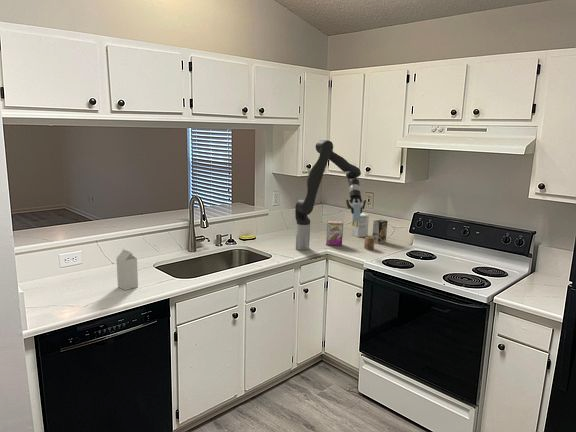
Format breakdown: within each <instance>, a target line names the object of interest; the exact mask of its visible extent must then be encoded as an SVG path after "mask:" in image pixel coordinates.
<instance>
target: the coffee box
mask: <svg viewBox="0 0 576 432" xmlns="http://www.w3.org/2000/svg"><path fill="white" fill-rule="evenodd" d="M372 224H373V225H372V234H371V235H372V236H371V237H373V238H375V240H374V244H378V245H380V244H385V243H386V242H387V236H388V235H387V233H388V220H385V219H378V220H373V223H372Z"/></svg>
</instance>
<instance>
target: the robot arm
mask: <svg viewBox="0 0 576 432" xmlns="http://www.w3.org/2000/svg"><path fill="white" fill-rule="evenodd" d="M315 150H316V152H317V154H319V156H318V159H317V160H316V161H315V163H314V164H313V166H312V167H311V168H310V170H309V172H308V175H307V178H306V187H307V188H306V189H307V191H306V195H305V199H298V200H297V202H296V204H295V207H294V208H295V209H294V211H295V212H294V215H295V221H296V224H295V225H296V227H295V229H296V230H295V250H299V251H307V250H309V249H310V241H311V240H310V239H311V238H310V236H311V219H310V218H309V216H308V215H310V214H311V213H312V212H313V210H314V207H315V202H316V198H317V194H318V191H319V188H320V185H321V183H322V179H323V176H324V172H325V171H326V167H327V164H328V162H329V161H331V162H332V163H333V164H334V165H335V166H336V167H338V168H339V169H340V170H341V171H342V172H343V173H345V177H346V179H347V182H348V185H349V187H348V188H349V189H348V190H349V192H348V194H349V199H346V200H345V203H346V207H347V209H349V210H350V213H351V214H353V213H354V209H353V203H361V204H363V205H361V211H360V214H361V213H363V210H364V209H365V207H366V204H367V203H366V202H367V200H366V199H364V200H363V199H362V191H361V186H360V180H359V179H358V178H359V177H360V176H361V175H362V172H361V170H360V168H359V167H357V166H356V165H354V164H351V163H350V162H349V161H348V160H347V159H346V158H344V157H343V156H342V155H340V154H337V153H336V152H334V151H333V150H334V144H333V142H332V141H331V140H327V139H326V140H323V139H321V140H318V141H317V142H316V143H315Z"/></svg>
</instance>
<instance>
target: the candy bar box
mask: <svg viewBox="0 0 576 432" xmlns="http://www.w3.org/2000/svg"><path fill="white" fill-rule="evenodd" d="M326 226H327V227H326V242H325V243H326V244H325V245H326V246H340V247H341V246H342V245H343V231H344V221H331V220H329V221H327V225H326Z"/></svg>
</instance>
